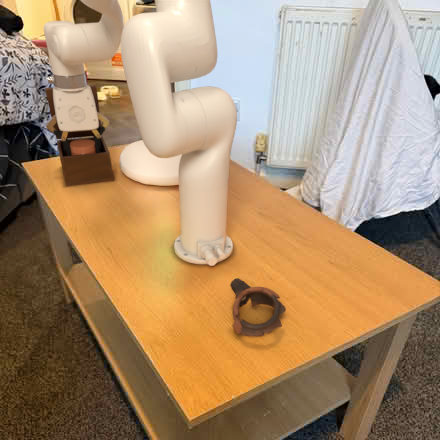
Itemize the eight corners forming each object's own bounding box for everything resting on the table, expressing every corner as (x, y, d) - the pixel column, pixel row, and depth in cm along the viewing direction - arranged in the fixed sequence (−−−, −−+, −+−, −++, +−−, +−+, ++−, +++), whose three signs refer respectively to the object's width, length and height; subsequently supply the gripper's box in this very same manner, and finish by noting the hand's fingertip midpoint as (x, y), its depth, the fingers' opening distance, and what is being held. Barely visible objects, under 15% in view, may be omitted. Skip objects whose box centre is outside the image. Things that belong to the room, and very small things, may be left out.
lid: (96, 86, 106) (93, 75, 109) (45, 89, 102) (42, 78, 105) (102, 135, 118) (99, 124, 120) (56, 139, 114) (54, 128, 117)
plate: (229, 165, 111) (133, 181, 103) (227, 186, 116) (135, 203, 107) (190, 124, 129) (106, 134, 120) (190, 144, 134) (109, 155, 125)
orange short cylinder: (98, 158, 111) (96, 146, 109) (72, 160, 109) (69, 148, 107) (95, 149, 116) (93, 138, 114) (70, 151, 114) (67, 140, 112)
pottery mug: (296, 322, 72) (297, 306, 64) (257, 358, 70) (253, 346, 63) (250, 277, 76) (245, 257, 69) (212, 311, 75) (203, 294, 67)
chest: (113, 180, 113) (109, 152, 108) (66, 186, 110) (59, 157, 105) (106, 162, 123) (102, 136, 118) (62, 167, 120) (56, 140, 115)
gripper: (33, 86, 96) (51, 161, 107) (108, 82, 101) (117, 154, 112) (32, 79, 101) (49, 151, 112) (104, 76, 106) (113, 145, 117)
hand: (83, 152), depth 112 cm, fingers closed on orange short cylinder, 6 cm apart
